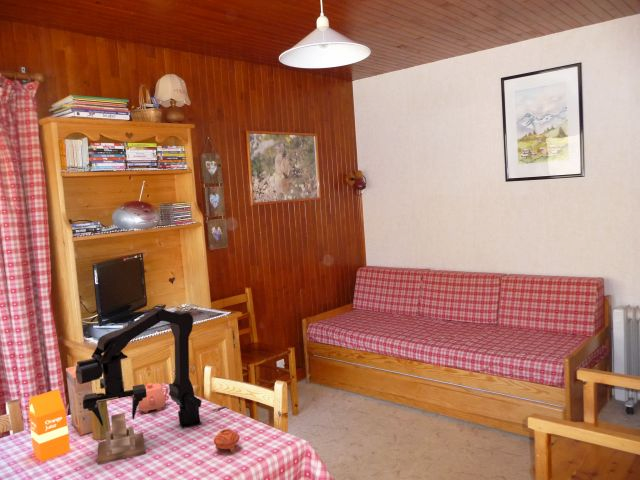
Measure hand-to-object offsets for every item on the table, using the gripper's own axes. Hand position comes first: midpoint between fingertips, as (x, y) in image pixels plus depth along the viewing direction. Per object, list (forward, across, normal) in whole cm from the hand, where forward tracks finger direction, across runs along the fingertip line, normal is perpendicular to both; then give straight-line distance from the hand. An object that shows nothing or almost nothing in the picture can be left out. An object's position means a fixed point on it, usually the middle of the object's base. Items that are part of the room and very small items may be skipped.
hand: (118, 422), depth 175 cm
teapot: (+9, -11, -29) cm, 33 cm away
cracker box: (+9, +12, -25) cm, 29 cm away
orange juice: (+10, +21, -9) cm, 25 cm away
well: (+9, 0, 0) cm, 9 cm away
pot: (+9, -31, +17) cm, 37 cm away
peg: (+8, 0, 0) cm, 8 cm away
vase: (+9, +6, -14) cm, 18 cm away
